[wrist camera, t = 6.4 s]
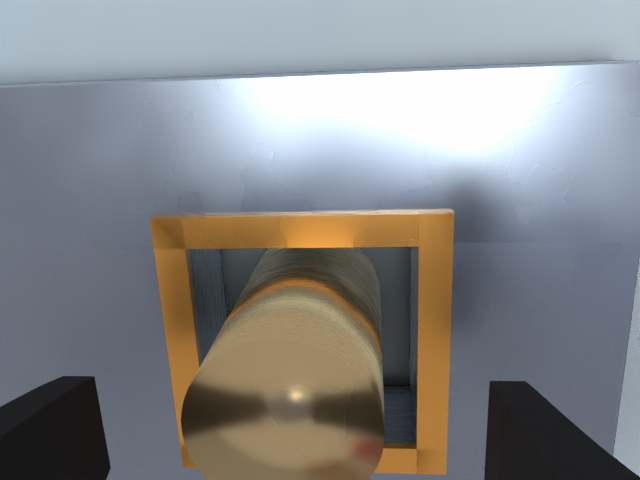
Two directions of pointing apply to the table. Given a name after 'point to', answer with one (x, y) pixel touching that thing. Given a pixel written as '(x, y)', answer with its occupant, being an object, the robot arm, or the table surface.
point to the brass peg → (293, 374)
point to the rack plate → (326, 237)
